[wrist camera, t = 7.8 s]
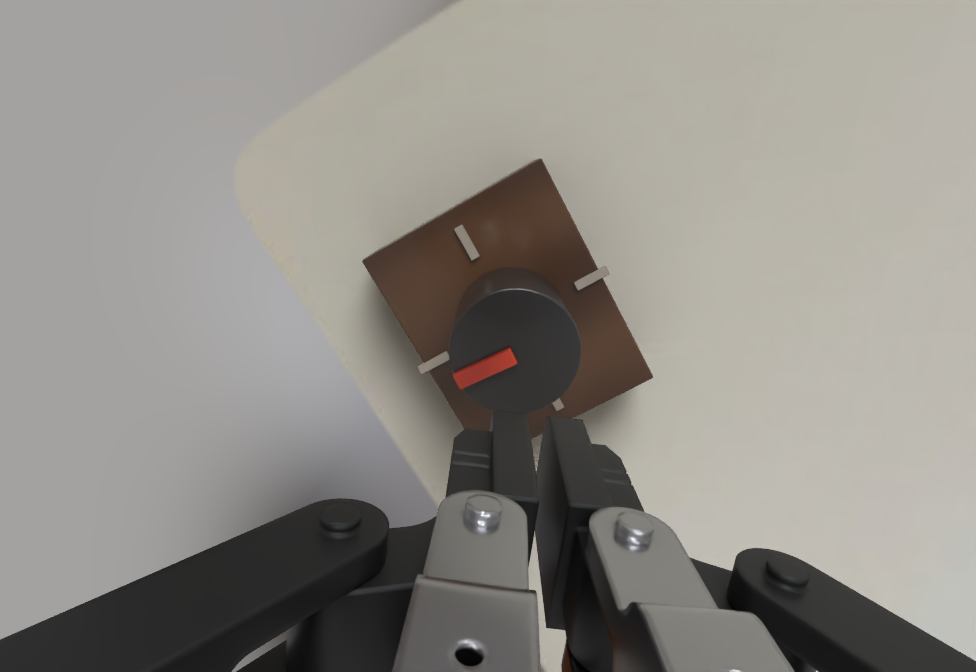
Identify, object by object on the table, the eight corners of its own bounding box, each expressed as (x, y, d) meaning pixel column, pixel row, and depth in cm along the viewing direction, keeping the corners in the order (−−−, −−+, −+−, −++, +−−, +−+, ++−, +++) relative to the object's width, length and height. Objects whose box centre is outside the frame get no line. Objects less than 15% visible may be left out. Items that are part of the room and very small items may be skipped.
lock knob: (538, 248, 23) (549, 266, 19) (583, 345, 24) (604, 386, 20) (437, 296, 24) (424, 325, 19) (485, 389, 25) (484, 439, 20)
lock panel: (369, 254, 27) (354, 265, 23) (541, 155, 25) (548, 153, 22) (480, 436, 29) (478, 467, 26) (643, 353, 28) (661, 375, 25)
